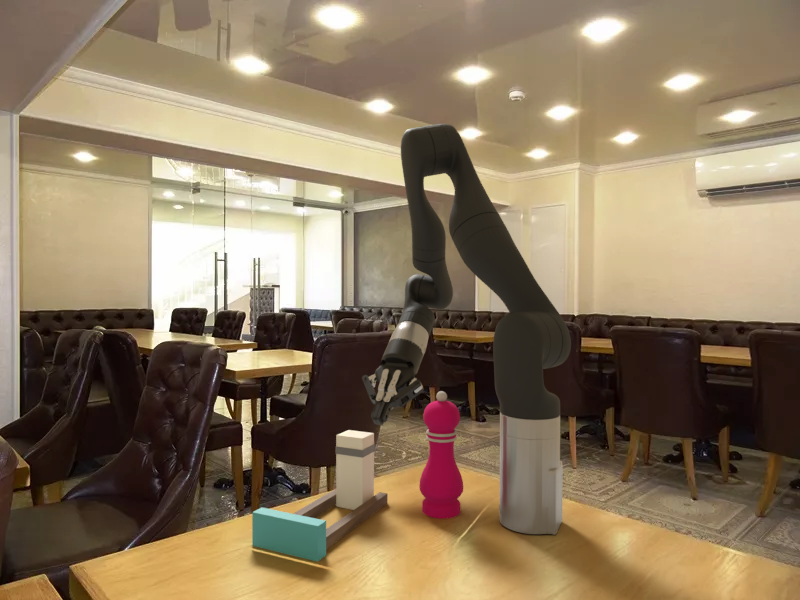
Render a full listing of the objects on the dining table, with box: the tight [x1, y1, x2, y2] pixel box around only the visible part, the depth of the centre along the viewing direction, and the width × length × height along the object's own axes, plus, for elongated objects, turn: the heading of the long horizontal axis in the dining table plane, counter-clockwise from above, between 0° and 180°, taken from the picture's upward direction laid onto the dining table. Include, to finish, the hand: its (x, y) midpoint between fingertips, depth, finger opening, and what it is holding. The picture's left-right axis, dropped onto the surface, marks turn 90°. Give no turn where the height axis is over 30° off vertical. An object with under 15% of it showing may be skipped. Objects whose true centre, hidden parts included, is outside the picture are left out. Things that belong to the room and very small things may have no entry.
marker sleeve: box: [334, 429, 376, 511], centre depth 94 cm, size 5×4×12 cm
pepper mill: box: [419, 390, 464, 520], centre depth 92 cm, size 7×7×20 cm
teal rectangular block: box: [251, 506, 327, 562], centre depth 77 cm, size 11×2×5 cm, turn 65°
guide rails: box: [292, 488, 388, 551], centre depth 87 cm, size 9×22×2 cm, turn 155°
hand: (377, 422), depth 102 cm, fingers closed
